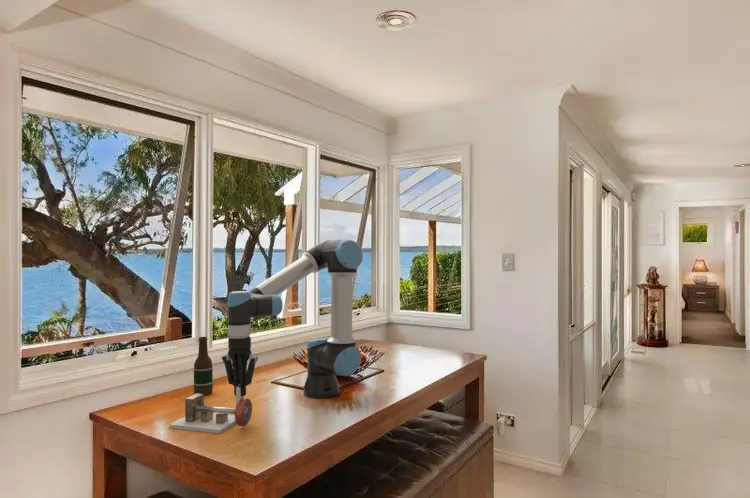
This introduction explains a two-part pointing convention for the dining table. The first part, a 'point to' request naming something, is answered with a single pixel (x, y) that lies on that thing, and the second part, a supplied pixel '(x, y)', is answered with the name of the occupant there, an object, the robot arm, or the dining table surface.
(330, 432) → the dining table surface
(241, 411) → the disc-ended rod
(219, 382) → the dining table surface
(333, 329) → the robot arm
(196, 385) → the beer bottle
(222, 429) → the base board
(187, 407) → the eye bracket
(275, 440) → the dining table surface
